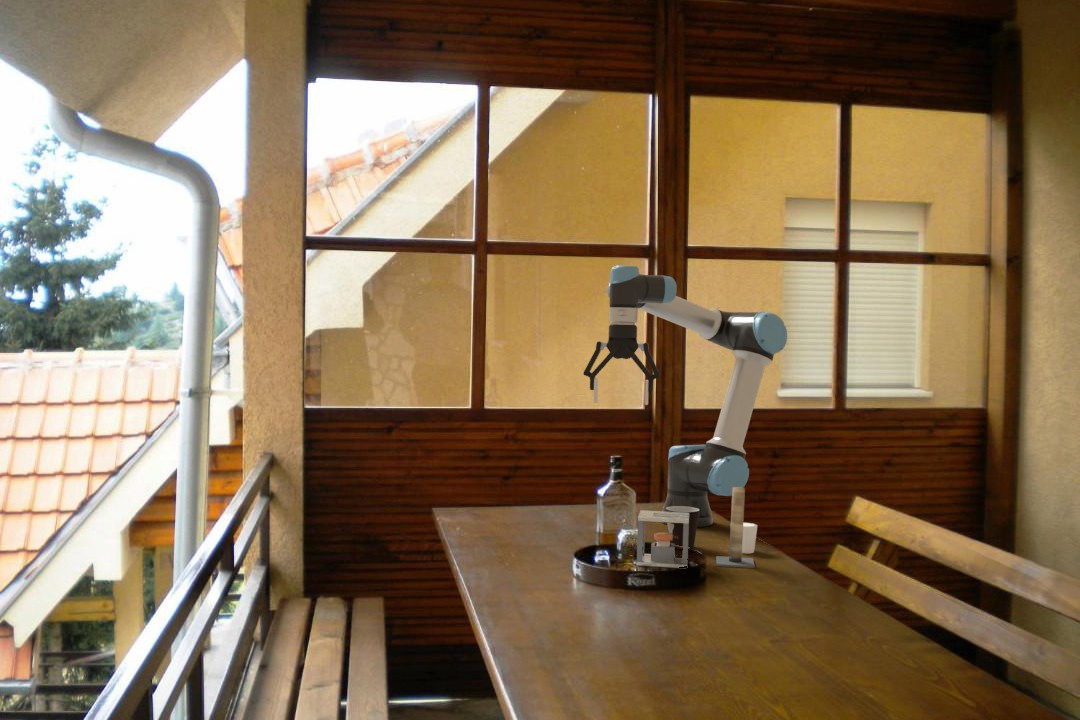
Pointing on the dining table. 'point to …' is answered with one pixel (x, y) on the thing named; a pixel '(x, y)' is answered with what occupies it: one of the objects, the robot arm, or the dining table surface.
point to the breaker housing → (659, 553)
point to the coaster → (743, 564)
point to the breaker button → (663, 539)
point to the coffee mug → (677, 528)
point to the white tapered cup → (749, 537)
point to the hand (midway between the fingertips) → (620, 403)
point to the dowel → (736, 524)
